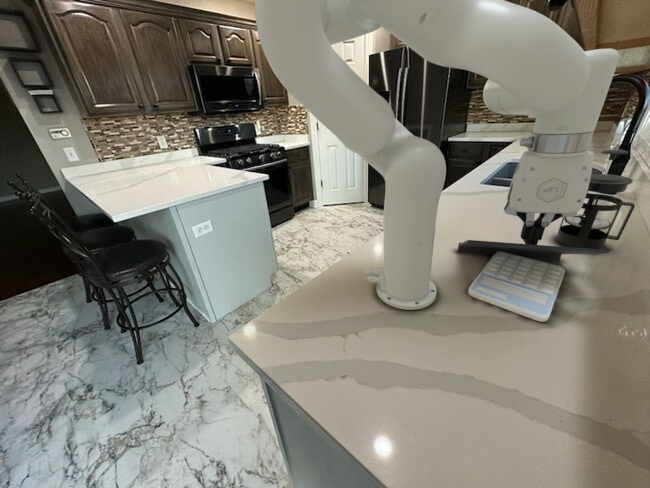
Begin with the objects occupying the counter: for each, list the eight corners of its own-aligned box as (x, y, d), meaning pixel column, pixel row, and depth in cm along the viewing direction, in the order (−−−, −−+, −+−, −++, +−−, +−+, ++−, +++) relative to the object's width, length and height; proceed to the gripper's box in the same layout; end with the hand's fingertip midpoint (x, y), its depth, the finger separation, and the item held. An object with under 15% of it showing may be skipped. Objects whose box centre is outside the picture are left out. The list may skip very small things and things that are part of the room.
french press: (548, 245, 67) (580, 153, 57) (553, 232, 73) (582, 146, 63) (613, 258, 60) (664, 155, 49) (612, 242, 66) (657, 147, 55)
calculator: (564, 273, 57) (567, 266, 56) (546, 325, 45) (549, 317, 44) (495, 255, 66) (497, 249, 65) (465, 295, 54) (466, 288, 53)
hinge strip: (457, 252, 69) (458, 244, 68) (457, 250, 70) (458, 242, 69) (559, 261, 61) (562, 252, 60) (557, 259, 62) (561, 250, 61)
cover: (467, 242, 53) (468, 239, 53) (458, 245, 68) (459, 243, 68) (609, 253, 45) (609, 249, 45) (562, 254, 60) (562, 251, 60)
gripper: (508, 149, 42) (487, 248, 51) (634, 144, 37) (587, 255, 45) (500, 142, 48) (483, 231, 57) (607, 137, 43) (570, 236, 51)
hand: (529, 242), depth 51 cm, fingers closed
